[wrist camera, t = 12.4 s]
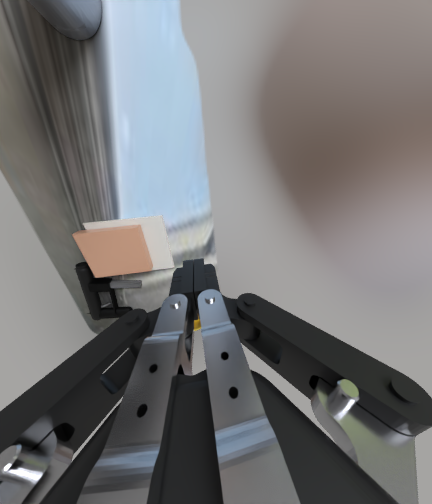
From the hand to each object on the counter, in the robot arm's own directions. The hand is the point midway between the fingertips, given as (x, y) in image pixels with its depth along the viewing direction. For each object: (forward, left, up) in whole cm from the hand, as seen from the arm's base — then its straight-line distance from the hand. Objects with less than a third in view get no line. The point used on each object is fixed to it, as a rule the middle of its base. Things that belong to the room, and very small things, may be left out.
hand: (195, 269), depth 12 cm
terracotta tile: (+10, -13, -27) cm, 32 cm away
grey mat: (+10, -17, -29) cm, 35 cm away
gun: (+24, -27, -30) cm, 46 cm away
